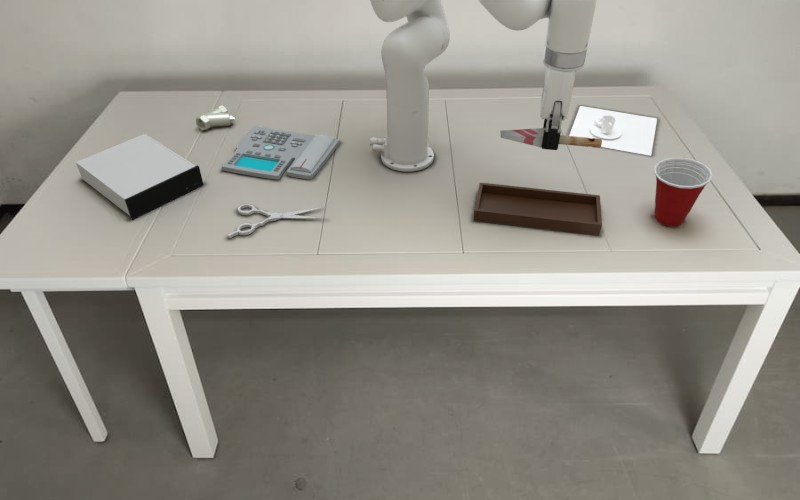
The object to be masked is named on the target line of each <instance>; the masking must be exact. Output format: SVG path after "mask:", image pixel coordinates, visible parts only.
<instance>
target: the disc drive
mask: <svg viewBox="0 0 800 500" xmlns="http://www.w3.org/2000/svg"><path fill="white" fill-rule="evenodd" d="M75 164H76V167H77V169H78V172H79V174H80V177H81V179H82V180H83V181H84V182H86V183H87V185H90V187H92V188H93V189H95V191H97V192H98V193H100V194H101V195H102V196H103V197H105V198H106V199H107V200H109V201H110V202H111V203H112V204H114V205H115V206H116V207H118V208H119V209H120V210H121V211H122V212H124V213H125V214H127V215H128V216H129V217H130V220H132V221H134V220H135V219H138V218H139V217H141V216H144V215H146V214H148V213H150V212H152V211H154V210H156V209H158V208H159V207H161V206H164V205H166V204H167V203H170V202H172V201H173V200H176V199H178V198H180V197H182V196H184V195H186V194H188V193H190V192H192V191H194V190H196V189H199V188H200V187H202V186H204V181H203V177H202V173H201V168H200V166H199V165H198V164H197V165H195V164H194V163H193V162H190V161H189V160H187V159H185V158H184V157H183V156H181V155H180V154H178V153H176V152H174V151H173V150H171V149H170V148H168V147H167V146H165V145H164V144H162V143H161V142H159V141H157V140H156V139H154V138H153V137H151V136H149V135H148V134H147V133H143V134H140V135H138V136H136V137H133V138H131V139H129V140H126V141H124V142H121V143H119V144H116V145H114V146H111V147H109V148H107V149H103V150H102V151H99V152H97V153H95V154H92V155H89V156H87V157H84V158H83V159H80V160H77V161H75Z"/></svg>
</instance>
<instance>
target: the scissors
mask: <svg viewBox="0 0 800 500" xmlns="http://www.w3.org/2000/svg"><path fill="white" fill-rule="evenodd" d="M245 208H246V209H247V208H250V209H249V210H242V209H245ZM322 208H323V206H321V207H314V208H305V209H299V210H294V211H288V212H272V211H265V210H264V209H257V208H256V206H254V205H253V204H249V203H244V204H241V205H239V206H238V207H237V212H238V214H239V215H243V216H250V215H252V214H261V215H263V216H265V217H266V218H265V219H264V220H262V221H259V222H254V223H250V222H244V223H241V224H240V225H238V226H237V228H236V230H234V231H233V232H230V233H228V234H227V237H228V239H232V238H233V237H235V236H238V235H240V236H247V235H250V234H252V233H254V231H255V230H256V229H258V228H259V227H263V226H264V225H266V224H267V223H269V222H274V221H278V220H280V219H297V220H298V219H300V220H301V219H303V220H304V219H317V220H321V217H320V216H308V215H299V214H304V213H306V212H307V213H308V212H310V211H314V210H318V209H322ZM245 228H249V229H248V230H242V229H245Z"/></svg>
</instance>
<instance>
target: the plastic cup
mask: <svg viewBox="0 0 800 500" xmlns="http://www.w3.org/2000/svg"><path fill="white" fill-rule="evenodd" d="M653 171H654V176H655V179H656V180H655V182H656V183H655V184H656V185H655V197H654V219H655V220H656V222H657V223H659V224H661V225H663V226H666V227H672V228H673V227H679V226H680V225H682V224H683V223H684V221H686V218H687V216H688V215H689V214H690V212H691V211H692V209H693V207H694V205H695V203H696V202H697V200H698V198H699V196H700V195H701V194H702V192H703V191H704V189H705V187H706V186H707V185H708V184H709V183H710V181H711V180H712V178H713V173H712V170H711V168H710V167H708V166H707V165H706V164H704V163H703V162H701V161H698V160H696V159H693V158H692V159H691V158H688V157H676V156H675V157H668V158H664V159H661V160H660V161H657V162H656V164H655V165H654V167H653Z"/></svg>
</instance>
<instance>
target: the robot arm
mask: <svg viewBox="0 0 800 500" xmlns="http://www.w3.org/2000/svg"><path fill="white" fill-rule="evenodd" d="M369 1H370V4H371V7H372V9H373V11H374V14H375V15H376V16H377V18H378V19H380V20H381V21H382V22H383V23H394V22H397V21H399V20H402V19H404V18H406V19H407V22H405V23H404V24H402V25H400V26H398V27H397V28H395V29H394V30H392V31H391V32H390V33H388V35H387V36H386V37H385V38H384V40H383V41H382V44H381V49H380V56H381V60H382V66H383V70H384V76H385V77H384V78H385V93H386V95H385V96H386V136H387V137H383V138H379V137H373V136H371V137H370V139H369V145H370V146H372V151H381V153H380V159H381V162H382V163H383V165H385V166H386V167H387V168H389V169H391V170H394V171H397V172H405V173H410V172H417V171H422V170H424V169H426V168H428V167H430V166H431V165H432V164H433V162H434V160H435V153H434V150H433V148H431V147H430V146H429V116H430V115H429V114H430V86H429V85H430V84H429V81H428V78H427V75H426V71H425V70H426V66H427V65H428V64H429V63H431V62H432V61H434V60H436V59H437V58H438V57H439V56H441V55H442V54H443V53H444V52H445V51H446V50H447V49H448V46H449V44H450V40H451V38H450V37H451V35H450V34H451V33H450V28H449V23H448V19H447V16H446V13H445V10H444V6H443V2H442V0H369ZM478 2H479V3H480V4H481V5H482V6H483V7H484V9H485V10H486V11H487V12H488V13H489V14H490V15H491V16H492V17H493V18H494V19H495V20H496V21H497V22H498V23H499V24H501V25H502V26H504V27H505V28H506V29H509V30H512V31H524V30H527V29H529V28H531V27H532V26H533V25H535V24H536V23H537V22H539V21H540V20H543V19H548V23H547V30H546V36H545V44H544V48H543V49H544V50H543V56H542V64H543V65H544V67H546V70H545V74H544V82H543V86H542V87H543V88H542V94H541V99H540V110H539V111H540V112H539V113H540V114H539V117H540V118H541V119H542V120H543V126H542V128H546V130H544V134H543V140H542V146H541V147H540V149H542V150H549V151H558V150H559V145H560V144H559V140H560V135H562V134H561V133H562V131H561V128H562V123H563V122H564V121H566V120H567V117H568V114H569V109H570V106H571V101H572V96H573V92H574V86H575V80H576V76H577V71H580V70H582V69H583V68H584V67H585V63H586V57H587V51H588V46H589V42H590V41H589V40H590V36H591V32H592V30H591V29H592V26H593V20H594V16H595V10H596V6H597V0H478Z"/></svg>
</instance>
